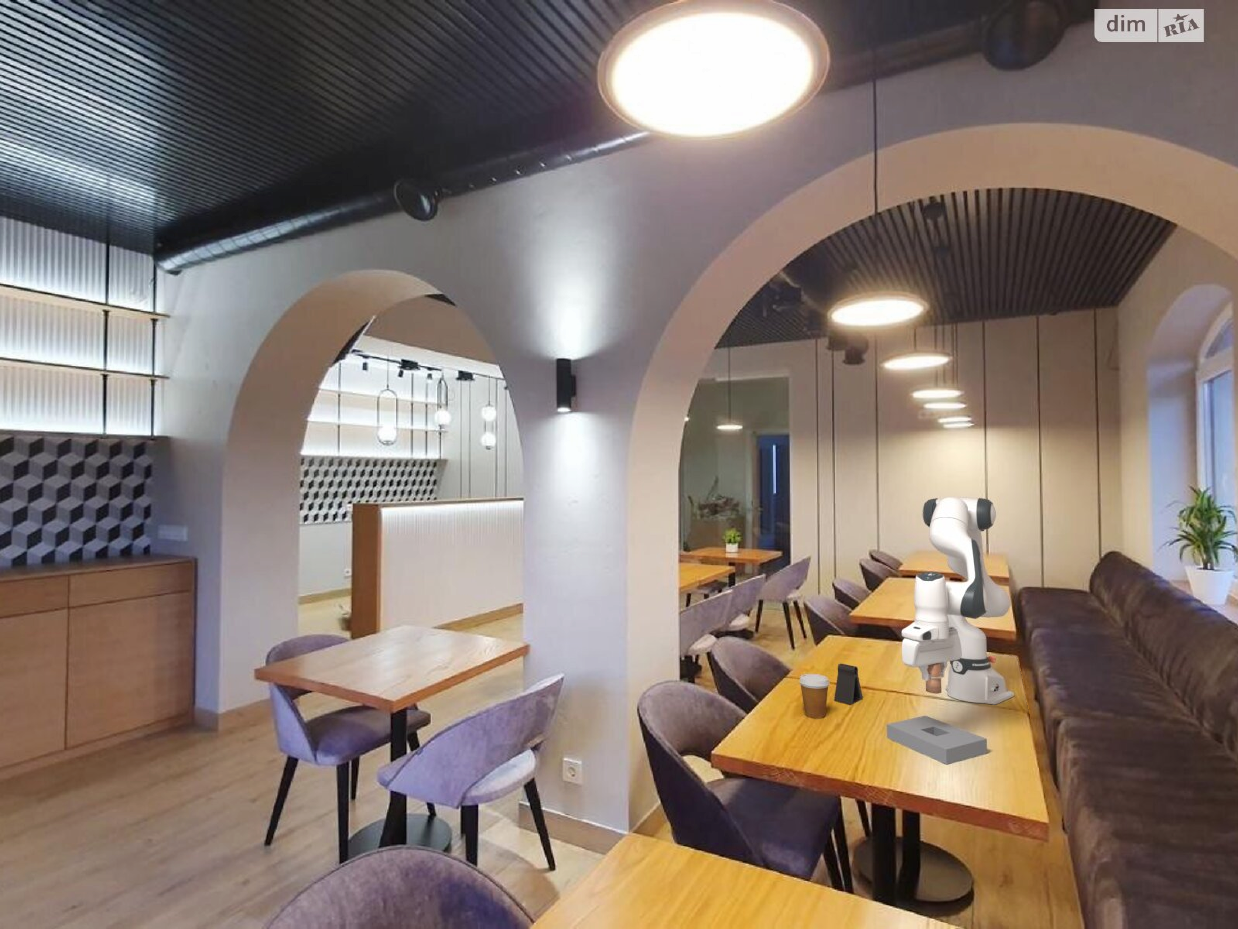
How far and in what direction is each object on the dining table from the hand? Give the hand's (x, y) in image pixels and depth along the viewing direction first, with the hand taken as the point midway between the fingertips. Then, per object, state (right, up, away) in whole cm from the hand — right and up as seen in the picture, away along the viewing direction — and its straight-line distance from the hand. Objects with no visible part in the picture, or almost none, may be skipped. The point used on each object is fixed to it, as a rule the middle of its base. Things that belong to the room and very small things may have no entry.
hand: (933, 678), depth 182 cm
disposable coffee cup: (-26, -20, +25) cm, 41 cm away
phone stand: (-10, -21, +38) cm, 45 cm away
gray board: (0, -19, -1) cm, 19 cm away
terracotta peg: (0, -4, 0) cm, 4 cm away
